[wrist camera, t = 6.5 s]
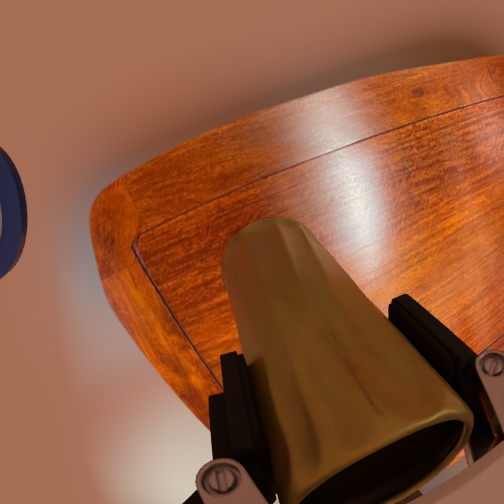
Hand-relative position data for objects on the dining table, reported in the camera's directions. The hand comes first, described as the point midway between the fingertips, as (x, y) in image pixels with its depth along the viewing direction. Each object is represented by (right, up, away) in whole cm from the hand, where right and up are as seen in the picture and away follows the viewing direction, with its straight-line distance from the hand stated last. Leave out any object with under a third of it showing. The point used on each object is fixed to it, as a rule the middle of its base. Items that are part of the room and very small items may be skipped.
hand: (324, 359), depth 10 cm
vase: (-1, +3, +8) cm, 9 cm away
